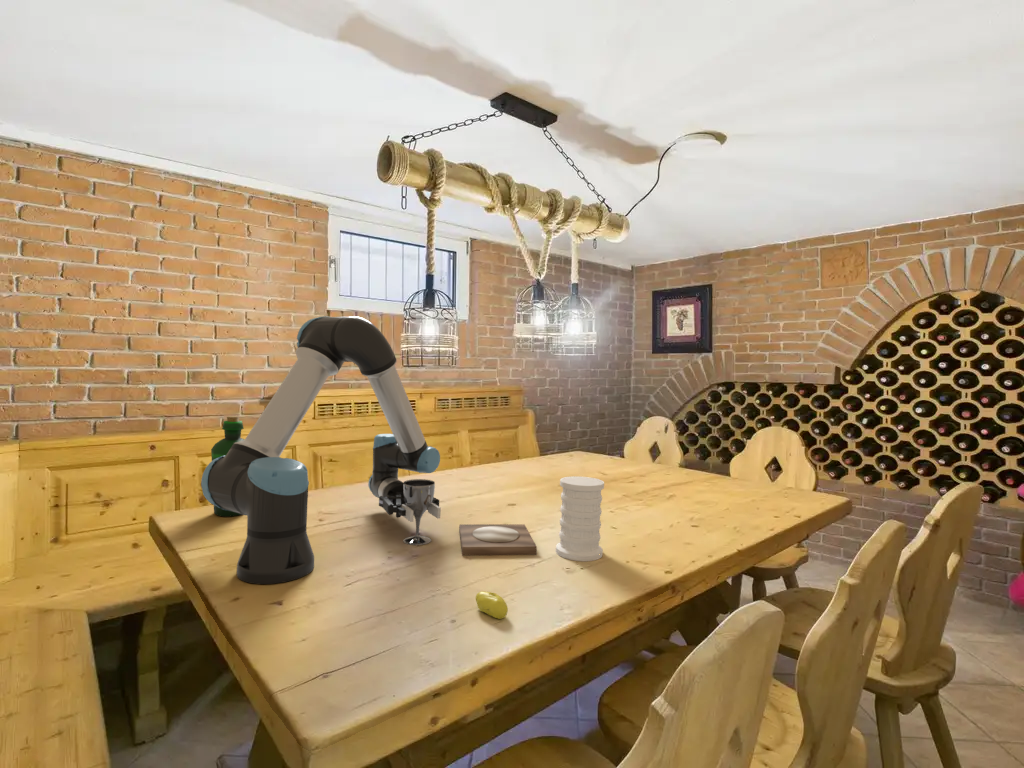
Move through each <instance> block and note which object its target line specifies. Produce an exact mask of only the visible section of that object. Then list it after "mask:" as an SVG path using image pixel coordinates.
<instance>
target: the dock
mask: <svg viewBox="0 0 1024 768" xmlns="http://www.w3.org/2000/svg"><path fill="white" fill-rule="evenodd" d="M458 529H459V530H458V533H459V534H458V535H459V540H460V541H459V543H460V549H461V550H460V551H461V556H508V555H509V556H512V555H513V556H518V555H521V556H523V555H529V556H530V555H536V556H537V545H536V543H535V541H534V539H533V537H532V535H531V534H530V532H529V529H528V528H527V526H526V525H525V523H522V524H520V523H519V524H517V523H516V524H515V523H514V524H511V523H510V524H506V523H505V524H498V523H497V524H487V523H486V524H485V523H484V524H475V523H473V524H471V523H470V524H469V523H468V524H462V523H461V524H459V527H458Z"/></svg>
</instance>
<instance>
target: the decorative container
mask: <svg viewBox="0 0 1024 768" xmlns="http://www.w3.org/2000/svg"><path fill="white" fill-rule="evenodd" d="M559 486H560V487H561V488H562V491H561V494H560V499H561V501H562V502H561V505H560V508H559V509H560V513H561V517H560V519H559V525H560V530H559V532H558V533H559V535H558V536H559V539H560V542H558V543H557V544H555V553H556V554H557V555H558V556H559V557H560V558H563V559H566V560H570V561H576V562H592V561H597V560H599V559H601V558H602V557H603V552H604V551H603V548H602V546H600V545H599V544H600V541H601V534H600V529H601V526H602V523H601V516H602V507H601V503H602V501H603V497H602V490H604V489H605V481H603V480H601V479H599V478H597V477H596V478H595V477H588V476H573V475H572V476H565V477H561V478H560V479H559ZM599 554H600V555H599Z"/></svg>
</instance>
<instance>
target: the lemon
mask: <svg viewBox="0 0 1024 768" xmlns="http://www.w3.org/2000/svg"><path fill="white" fill-rule="evenodd" d="M475 602H476V606H477V608H478V610H479V611H480V612H483V613H485V614H487V615H488V616H490V617H493V618H495V619H497V620H502V619H505V617H506V616H507V614H508V612H509V610H508V609H509V608H508V605H507V602H506V601H505V599H504V598H503V597H502V596H501V595H499V594H497V593H495V592H492V591H491V592H490V591H483V590H482V591H479V592H478V593H476V596H475Z"/></svg>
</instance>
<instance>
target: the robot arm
mask: <svg viewBox="0 0 1024 768" xmlns="http://www.w3.org/2000/svg"><path fill="white" fill-rule="evenodd" d="M296 340H297V342H296V346H297V348H296V350H295V356H296V358H297V359H296V361H295V362H294V364H293V365H292V367H291V368H290V370H289V372H287V374H286V376H285V378H284V379H283V381H282V383H281V384H280V385H279V387H278V388H277V390H276V392H275V393H274V395H273V396H272V397H271V399H270V400H269V402H268V404H267V405H266V407H264V408H265V409H264V410H263V412H262V413H261V414H260V416H259V418H258V419H257V420H256V422H255V423H254V424H253V426H252V428H251V429H250V431H249V432H248V434H247V435H246V437H245V438H244V439H245V440H243V441H239V442H236V443H234V444H233V446H232V447H231V449H230V450H229V452H228V453H227V455H226V456H221V457H219V458H216V459H214V460H213V461H212V460H211V461H210V462H209V463H208V464H207V466H206V467H205V469H204V470H203V473H202V475H201V476H202V477H201V480H200V481H201V483H200V484H201V486H200V487H201V490H202V491H201V492H202V494H203V496H204V497H205V499H206V500H207V502H208V503H210V504H211V505H213V506H214V505H215V506H217V507H219V508H221V509H222V510H226V511H233V512H236V513H240V514H241V515H243V516H247V517H246V518H247V523H246V526H247V528H246V539H245V541H244V544H243V548H242V550H241V553H240V556H239V557H238V560H237V564H236V577H237V579H239V580H240V581H243V582H246V583H248V584H249V583H250V584H255V585H256V584H258V585H269V584H280V583H286V582H290V581H294V580H297V579H300V578H303V577H304V576H306V575H309V574H310V573H311V572H312V571H314V568H315V555H314V552H313V549H312V548H313V547H312V545H311V542H310V539H309V536H308V532H307V529H308V528H307V524H308V523H307V522H308V521H307V520H308V503H309V501H308V500H309V484H310V483H309V482H310V481H309V475H308V469H307V466H306V465H305V463H303V462H301V461H298V460H296V459H293V458H287V457H281V456H282V453H283V452H284V450H285V448H286V447H287V445H288V443H289V442H290V440H291V439H292V438H293V437H292V436H293V435H294V434H295V432H296V430H297V429H298V427H299V425H300V423H302V420H303V419H304V417H305V416H306V414H307V412H308V411H309V409H310V407H311V406H312V404H313V402H314V401H315V399H316V397H317V396H318V395H319V393H320V391H321V389H322V387H324V385H325V383H326V381H327V380H328V378H329V377H331V376H336V375H337V374H338V373H339V371H340V369H342V367H343V365H344V364H345V362H346V363H354V364H355V365H356V366H357V367H358V369H359V371H360V373H361V375H362V376H364V377H367V379H368V381H369V384H370V386H371V388H372V391H373V392H374V395H375V397H376V399H377V402H378V404H379V406H380V409H381V410H382V412H383V415H384V417H385V419H386V422H387V424H388V425H389V428H390V430H391V433H380V434H379V433H378V434H376V435H375V436H374V439H373V447H372V472H371V474H372V475H370V477H369V479H368V482H367V483H368V484H367V485H368V488H369V491H370V492H371V494H373V496H374V497H375V498H377V499H378V506H379V507H380V508H382V509H383V510H384V511H385V512H386V514H388V515H390V516H393V515H394V514H395V518H401V517H403V518H405V519H406V520H407V521H408V522H409V523H412V522H414V515H413V513H414V511H413V510H412V509H411V508H409V507H408V506H406V504H405V501H404V494H403V483H404V481H401V480H400V479H399V469H400V470H406V471H411V472H415V473H419V474H432V473H434V472H435V471H436V470H437V469H438V468H439V466H440V461H441V454H440V451H439V450H438V449H437V448H436V447H433V446H431V445H430V446H429V445H428V444H427V441H426V438H425V435H424V433H423V430H422V428H421V426H420V424H419V421H418V419H417V417H416V414H415V411H414V409H413V407H412V405H411V402H410V400H409V397H408V394H407V392H406V390H405V387H404V385H403V383H402V380H401V378H400V375H399V373H398V370H397V367H396V364H397V362H398V360H397V358H396V355H395V353H394V350H393V348H392V346H391V344H390V343H389V341H388V340H387V338H386V337H385V335H384V334H383V333H382V332H381V331H380V329H379V328H378V327H377V326H376V325H375V324H374V323H372V322H371V321H369V320H368V319H366V318H364V317H360V316H355V315H353V316H351V315H350V316H327V315H324V316H319V317H314V318H311V319H308V320H307V321H305V322H304V323H303V324H302V325H301V326H300V328H299V330H298V331H297V336H296ZM441 509H442V507H440V499H438V498H436V497H433V501H432V504H431V505H430V507H429V508H428V509H427V510H426V511H427V513H428V514H430V515H431V516H433V517H435V518H437V520H438V519H441V511H442V510H441Z"/></svg>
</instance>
